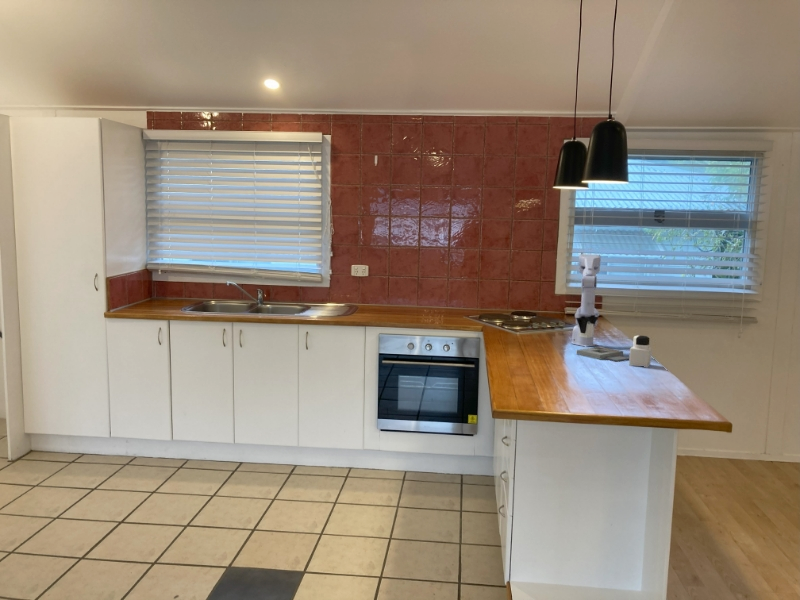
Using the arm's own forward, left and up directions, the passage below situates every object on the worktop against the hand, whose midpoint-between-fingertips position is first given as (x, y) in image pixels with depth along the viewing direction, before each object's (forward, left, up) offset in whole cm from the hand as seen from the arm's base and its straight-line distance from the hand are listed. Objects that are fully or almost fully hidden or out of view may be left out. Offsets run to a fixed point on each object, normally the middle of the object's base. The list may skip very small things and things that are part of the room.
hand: (586, 332), depth 272 cm
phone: (+19, -3, -9) cm, 22 cm away
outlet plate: (+9, -2, -8) cm, 13 cm away
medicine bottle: (+30, -4, -9) cm, 32 cm away
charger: (0, 0, -2) cm, 2 cm away
